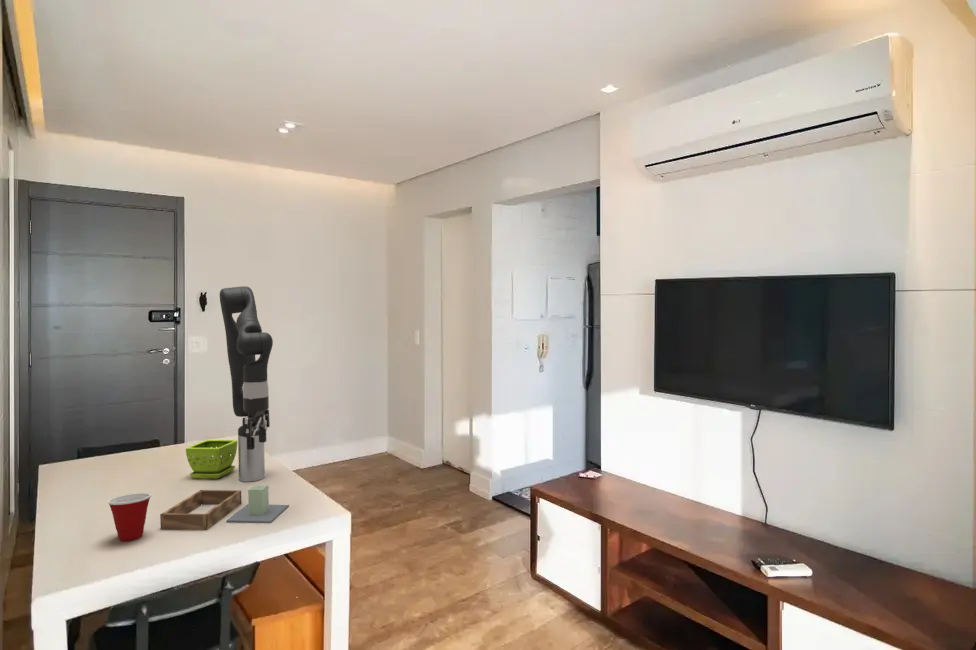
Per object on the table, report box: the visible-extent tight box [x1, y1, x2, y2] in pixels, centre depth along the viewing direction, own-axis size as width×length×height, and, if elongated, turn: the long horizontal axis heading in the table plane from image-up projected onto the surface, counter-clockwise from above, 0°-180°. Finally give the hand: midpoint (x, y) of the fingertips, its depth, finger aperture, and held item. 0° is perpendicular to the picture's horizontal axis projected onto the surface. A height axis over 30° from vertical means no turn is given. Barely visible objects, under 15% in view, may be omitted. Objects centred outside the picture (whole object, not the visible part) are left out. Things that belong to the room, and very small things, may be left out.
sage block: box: [247, 484, 270, 515], centre depth 182 cm, size 4×4×8 cm
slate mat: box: [225, 503, 290, 524], centre depth 182 cm, size 14×14×1 cm
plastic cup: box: [106, 492, 152, 542], centre depth 164 cm, size 11×11×12 cm
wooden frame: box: [159, 489, 242, 531], centre depth 180 cm, size 22×14×4 cm, turn 178°
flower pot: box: [185, 439, 238, 480], centre depth 222 cm, size 14×14×13 cm
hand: (256, 445), depth 181 cm, fingers open, 8 cm apart
